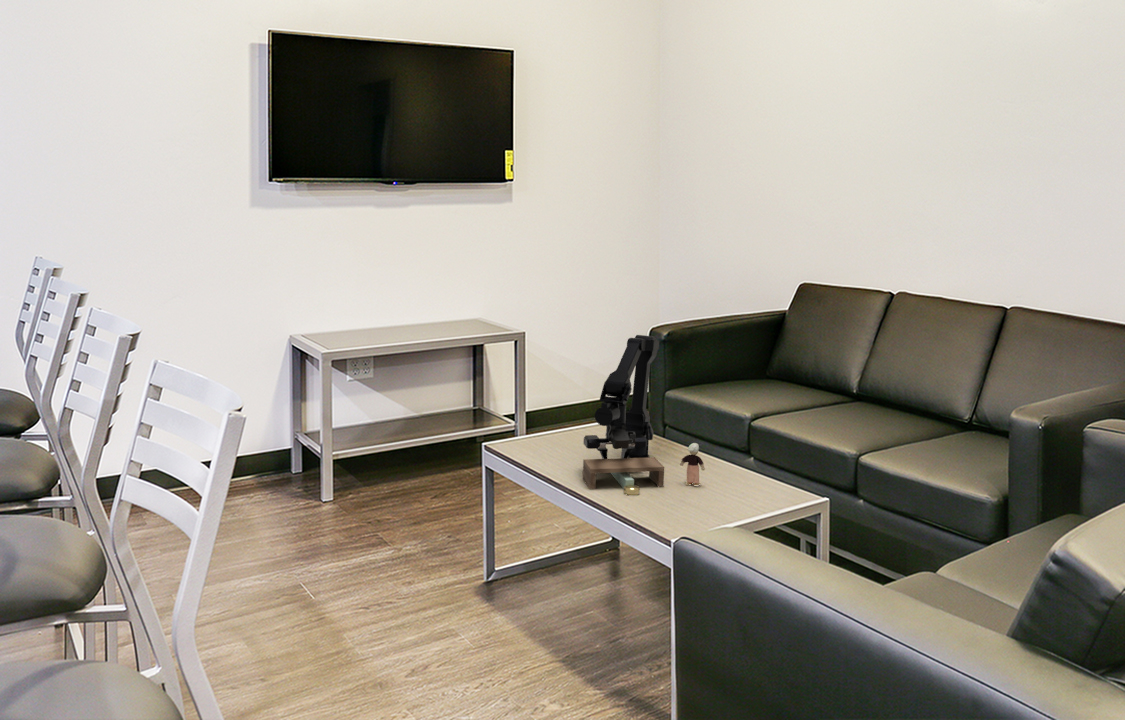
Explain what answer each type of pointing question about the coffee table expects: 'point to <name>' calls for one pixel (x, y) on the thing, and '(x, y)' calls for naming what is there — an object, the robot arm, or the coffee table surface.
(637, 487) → the brass disc
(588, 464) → the walnut shelf
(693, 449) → the grandmother figurine
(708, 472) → the coffee table surface
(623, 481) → the green blade
